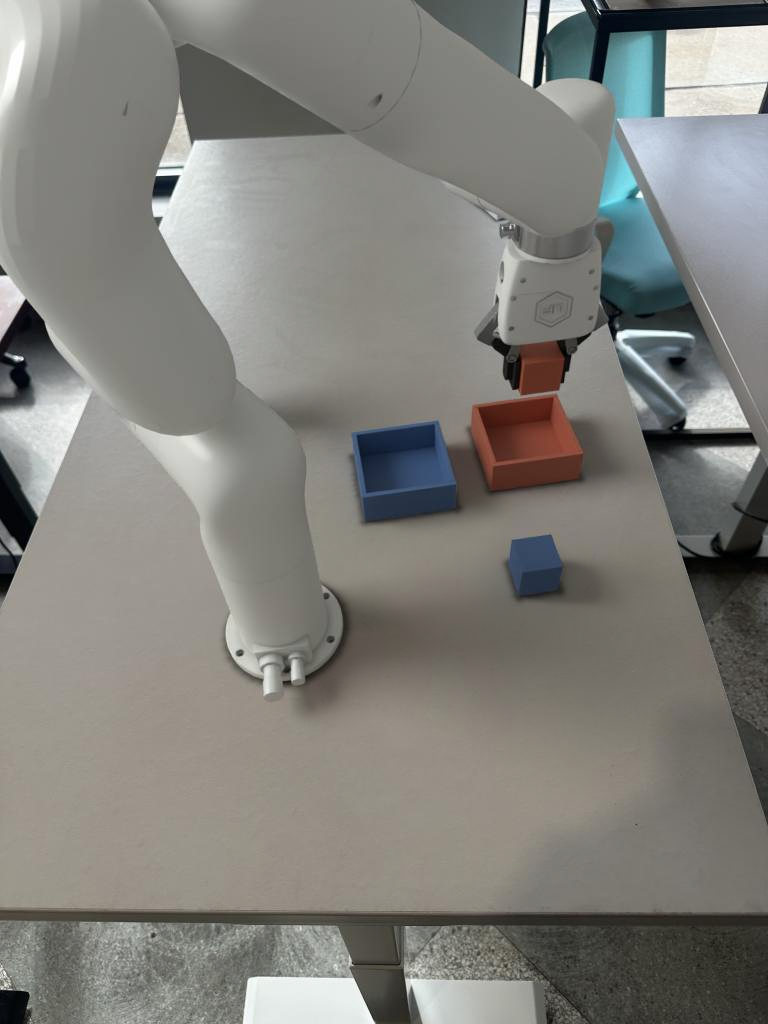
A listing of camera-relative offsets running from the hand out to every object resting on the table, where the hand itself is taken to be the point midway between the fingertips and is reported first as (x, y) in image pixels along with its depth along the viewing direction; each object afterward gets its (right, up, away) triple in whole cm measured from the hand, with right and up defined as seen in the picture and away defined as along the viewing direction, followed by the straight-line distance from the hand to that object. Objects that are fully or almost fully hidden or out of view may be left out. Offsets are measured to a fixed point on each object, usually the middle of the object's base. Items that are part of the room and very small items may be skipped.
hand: (534, 377), depth 83 cm
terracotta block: (0, 0, 0) cm, 0 cm away
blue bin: (-15, -12, +9) cm, 21 cm away
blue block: (0, -23, -1) cm, 23 cm away
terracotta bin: (+1, -8, +11) cm, 14 cm away
